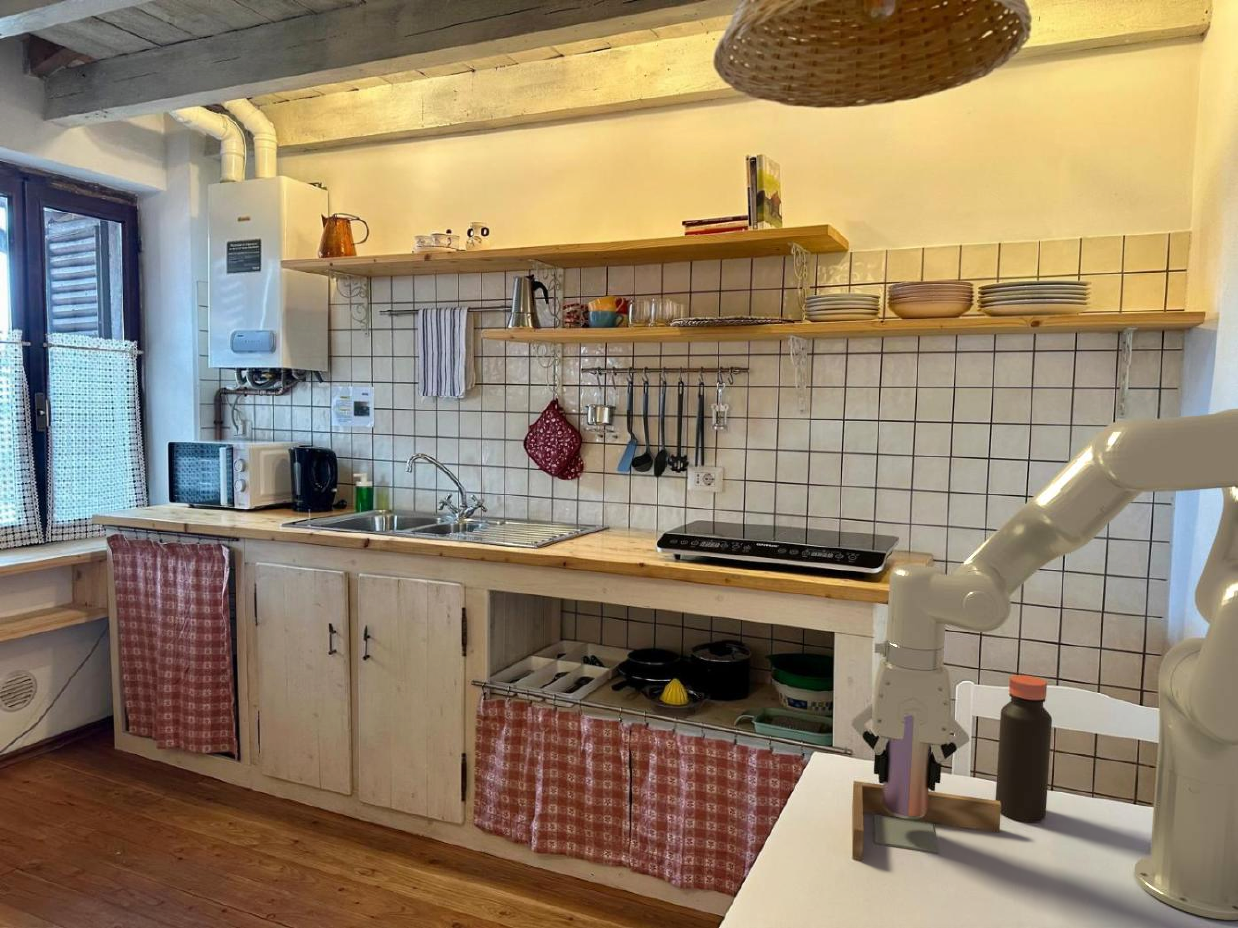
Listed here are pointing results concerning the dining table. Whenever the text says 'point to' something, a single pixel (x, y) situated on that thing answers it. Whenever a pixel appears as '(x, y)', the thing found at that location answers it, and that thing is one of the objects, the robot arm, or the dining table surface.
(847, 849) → the dining table surface
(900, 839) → the pad
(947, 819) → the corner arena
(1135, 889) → the dining table surface
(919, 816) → the beverage can
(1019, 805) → the bottle
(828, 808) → the dining table surface
